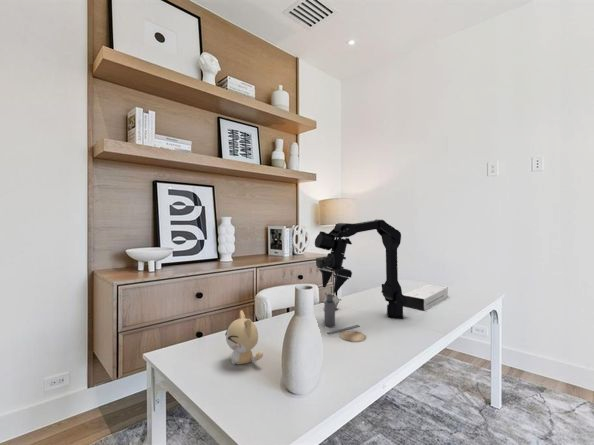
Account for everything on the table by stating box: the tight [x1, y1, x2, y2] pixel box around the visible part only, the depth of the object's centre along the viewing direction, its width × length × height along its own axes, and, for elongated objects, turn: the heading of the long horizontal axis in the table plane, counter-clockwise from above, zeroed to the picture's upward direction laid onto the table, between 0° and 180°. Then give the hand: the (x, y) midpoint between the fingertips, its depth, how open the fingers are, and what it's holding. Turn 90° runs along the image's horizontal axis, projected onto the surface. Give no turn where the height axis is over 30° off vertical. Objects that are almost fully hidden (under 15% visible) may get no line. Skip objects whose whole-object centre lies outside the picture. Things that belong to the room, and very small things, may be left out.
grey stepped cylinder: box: [323, 293, 336, 328], centre depth 132 cm, size 4×4×13 cm
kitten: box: [225, 309, 264, 366], centre depth 100 cm, size 15×10×15 cm
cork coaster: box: [339, 330, 367, 343], centre depth 121 cm, size 10×10×1 cm
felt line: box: [327, 324, 361, 336], centre depth 127 cm, size 16×2×1 cm, turn 123°
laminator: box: [402, 283, 449, 311], centre depth 169 cm, size 34×12×6 cm, turn 137°
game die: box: [321, 291, 342, 310], centre depth 155 cm, size 9×8×10 cm
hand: (329, 289), depth 130 cm, fingers open, 9 cm apart
